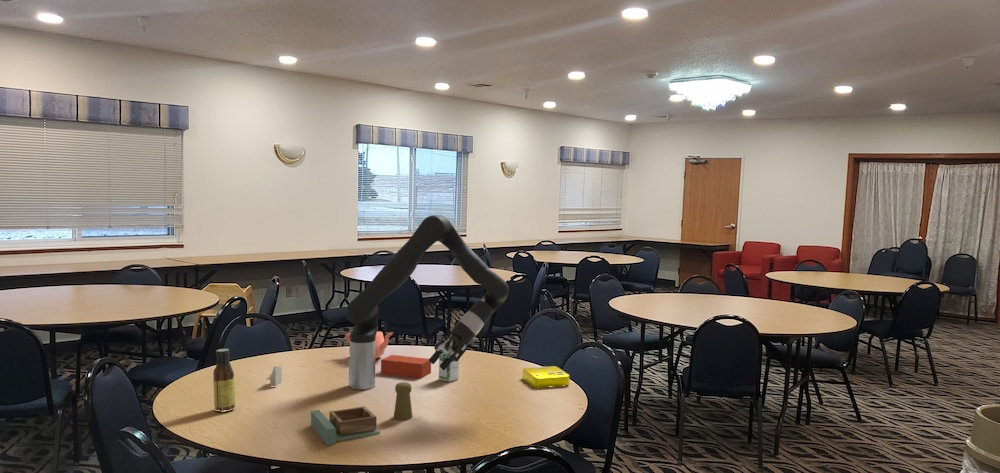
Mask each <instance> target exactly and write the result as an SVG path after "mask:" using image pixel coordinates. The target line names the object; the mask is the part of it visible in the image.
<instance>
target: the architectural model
mask: <svg viewBox="0 0 1000 473" xmlns="http://www.w3.org/2000/svg"><path fill="white" fill-rule="evenodd" d="M282 378H283V373H282V364H281V365H279V366H275V365H274V366H273V369H272V372H271V374H269V376H268V377H266V379H265V380H268V381H270V382H269V387H270V386H277V385H278V384H280V383H281V382H282V381H283V379H282ZM280 385H281V384H280ZM277 387H278V386H277Z"/></svg>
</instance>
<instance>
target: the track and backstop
mask: <svg viewBox="0 0 1000 473" xmlns="http://www.w3.org/2000/svg"><path fill="white" fill-rule="evenodd" d="M310 414H311V415H310V418H311V420H310V426H311V428H312V429H313V430H314V431H315V432H316V433H317V435H318V436H319V437H320V439H321V440H322V441H323V443H325V445H326V446H331V445H332V446H333V445H336V442H340V441H346V440H351V439H357V438H364V437H368V436H374V435H380V434H381V432H380V430H379V429H378V428H376V430H370V431H364V432H358V433H352V434H346V435H341V436H340V435H339V434H338V433H337V432H336V428H335V427H334V426H333V425H332V424H331V422H330V419H328V418H327V417H326V415H324V413H323V412H322V411H321V410H320V409H315V410H311V411H310Z"/></svg>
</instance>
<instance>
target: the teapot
mask: <svg viewBox="0 0 1000 473" xmlns="http://www.w3.org/2000/svg"><path fill="white" fill-rule="evenodd" d="M350 334H351V332H349V333H346V334H345V335H344V336H345V337H344V338H345V340H346V342H347V344H349V345H350ZM392 334H394V332H388V333H386V334H385V337H384V334H383V332H382V331H378V330H377V333H376V338H375V359H379V358H381V356H383V355H384V353H385V350H386V348H387V347H388V345H389V339H390V337H391V336H392ZM348 352H349V354H350V348H349V350H348Z"/></svg>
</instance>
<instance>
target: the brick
mask: <svg viewBox="0 0 1000 473" xmlns="http://www.w3.org/2000/svg"><path fill="white" fill-rule="evenodd" d="M429 359H430V358H426V357H416V356H415V357H414V356H407V355H398V354H397V355H395V354H390V355H388V356H386V357H384V358H382V359H380V374H381V375H387V376H389V375H390V376H395V377H396V376H398V377H404V378H414V379H423V378H425V377H427V376H428V375H430V374H432V363H431V362H430V361H429Z"/></svg>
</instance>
